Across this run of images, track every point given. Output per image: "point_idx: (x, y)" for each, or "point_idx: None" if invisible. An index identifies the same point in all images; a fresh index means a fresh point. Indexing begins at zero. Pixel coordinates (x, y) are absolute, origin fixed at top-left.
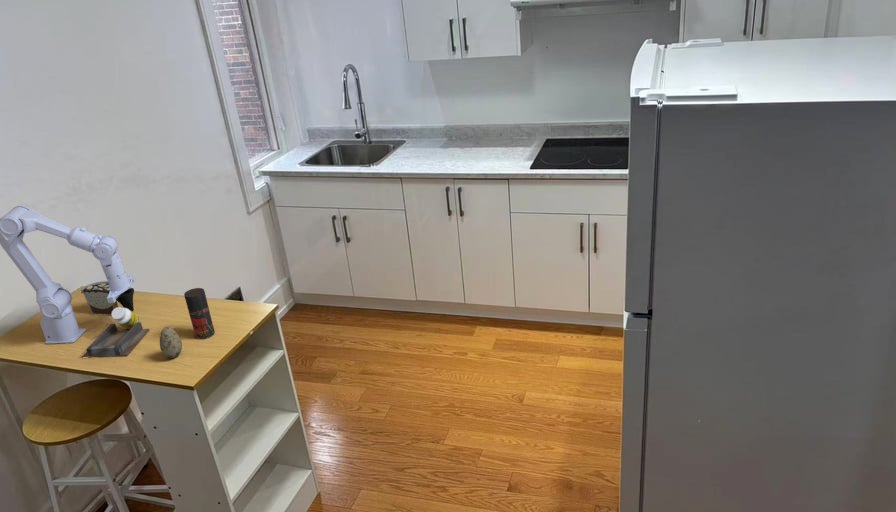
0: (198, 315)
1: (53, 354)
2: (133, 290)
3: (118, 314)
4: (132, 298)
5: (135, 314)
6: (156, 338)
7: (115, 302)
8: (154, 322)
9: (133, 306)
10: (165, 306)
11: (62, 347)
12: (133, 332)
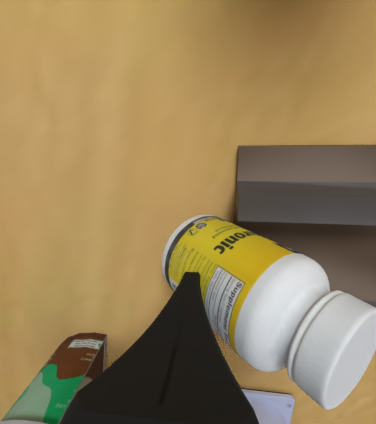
0: None
1: (359, 420)
2: (96, 408)
3: (365, 346)
4: (153, 337)
5: (195, 249)
6: (348, 49)
7: (65, 374)
8: (156, 156)
9: (179, 286)
10: (7, 170)
11: (315, 411)
12: (346, 193)
